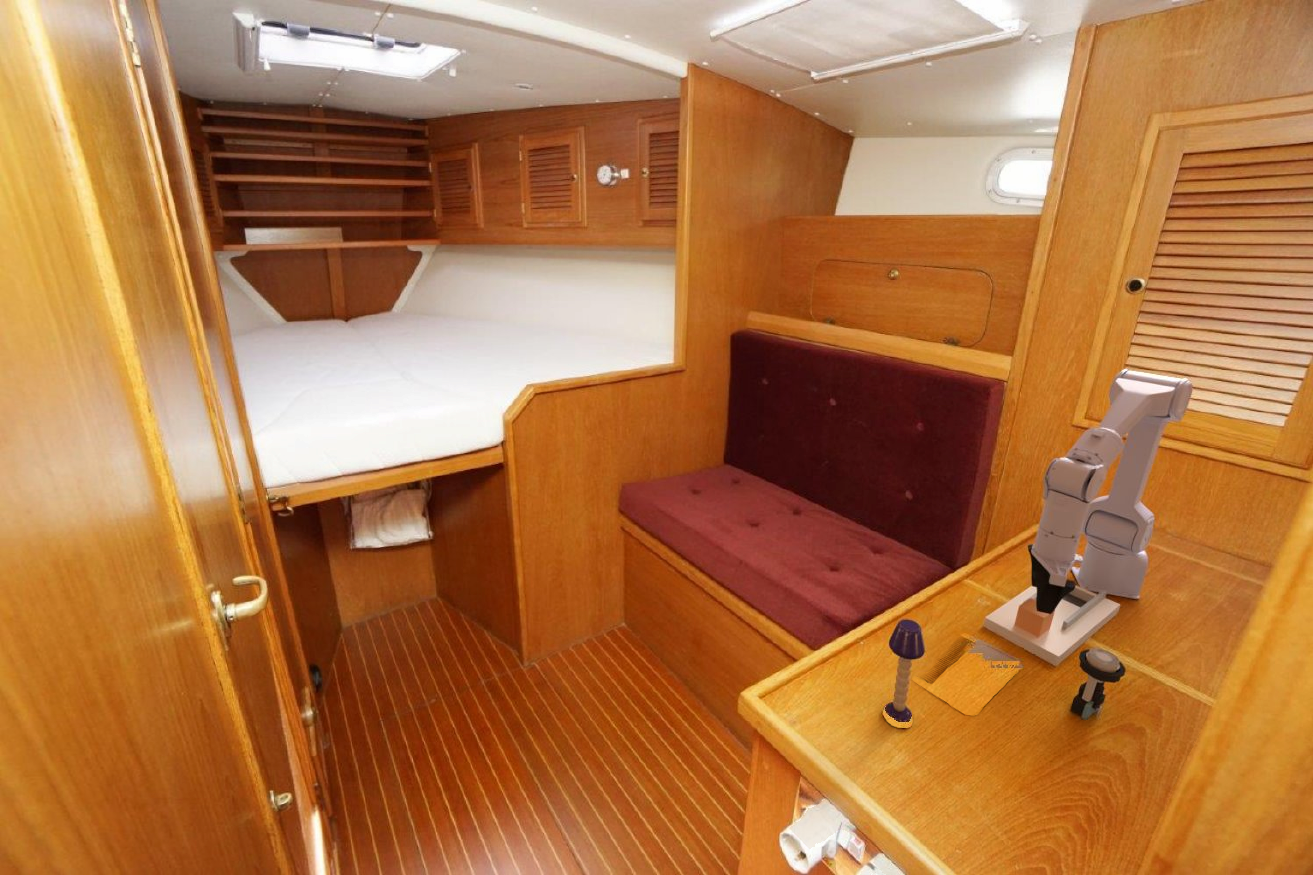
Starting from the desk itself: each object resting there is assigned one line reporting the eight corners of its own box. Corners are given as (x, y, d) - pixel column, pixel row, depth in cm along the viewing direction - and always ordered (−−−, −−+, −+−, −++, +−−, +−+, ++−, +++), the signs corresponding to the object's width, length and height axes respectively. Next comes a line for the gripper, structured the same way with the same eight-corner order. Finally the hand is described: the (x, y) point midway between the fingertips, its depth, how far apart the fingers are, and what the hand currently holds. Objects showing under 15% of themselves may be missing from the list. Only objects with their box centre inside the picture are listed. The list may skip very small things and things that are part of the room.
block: (1025, 616, 102) (1030, 597, 101) (1050, 628, 99) (1055, 609, 98) (1014, 624, 100) (1019, 605, 99) (1038, 637, 97) (1044, 618, 96)
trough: (1047, 582, 115) (1051, 567, 114) (1117, 613, 106) (1122, 597, 105) (983, 626, 103) (986, 610, 102) (1056, 666, 94) (1061, 649, 92)
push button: (1080, 687, 89) (1096, 636, 86) (1120, 711, 85) (1139, 657, 81) (1057, 705, 86) (1073, 652, 83) (1097, 730, 82) (1116, 675, 78)
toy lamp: (893, 734, 82) (910, 639, 76) (870, 710, 86) (885, 619, 80) (919, 723, 83) (937, 630, 77) (895, 700, 87) (911, 610, 82)
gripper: (1098, 556, 86) (1076, 630, 90) (1081, 515, 98) (1062, 582, 102) (1043, 546, 89) (1024, 618, 93) (1033, 506, 101) (1017, 572, 105)
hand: (1041, 598), depth 98 cm, fingers open, 7 cm apart
